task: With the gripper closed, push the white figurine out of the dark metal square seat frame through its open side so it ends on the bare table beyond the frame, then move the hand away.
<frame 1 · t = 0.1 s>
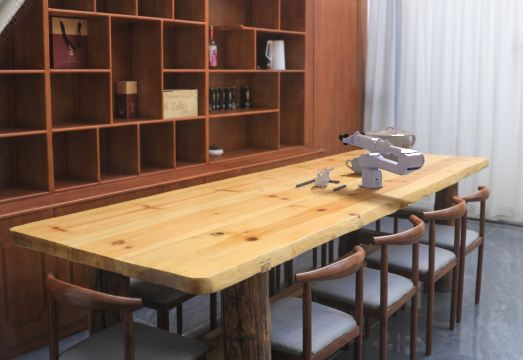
hand: (345, 136, 321), 22 cm above the table, tool horizontal, fingers open, 7 cm apart
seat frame: (324, 185, 311), on the table
teacup: (358, 174, 345), on the table
white figurine: (324, 186, 311), on the table
chamber pot: (389, 161, 387), on the table
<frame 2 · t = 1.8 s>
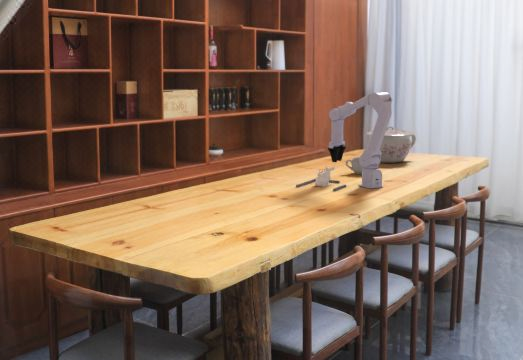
hand: (336, 161, 320), 10 cm above the table, tool pointing down, fingers open, 5 cm apart
white figurine: (325, 185, 312), on the table
everything else where it was.
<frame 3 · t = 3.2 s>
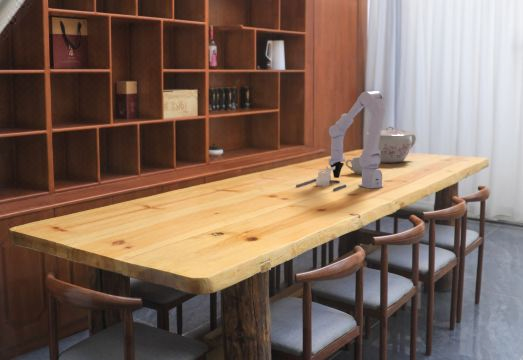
hand: (336, 177, 321), 2 cm above the table, tool pointing down, fingers closed
nothing on the table moved.
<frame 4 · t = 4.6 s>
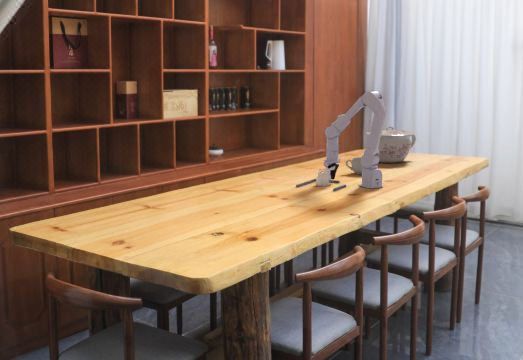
hand: (331, 179, 317), 2 cm above the table, tool pointing down, fingers closed
white figurine: (325, 185, 313), on the table, touching gripper
everything else where it was.
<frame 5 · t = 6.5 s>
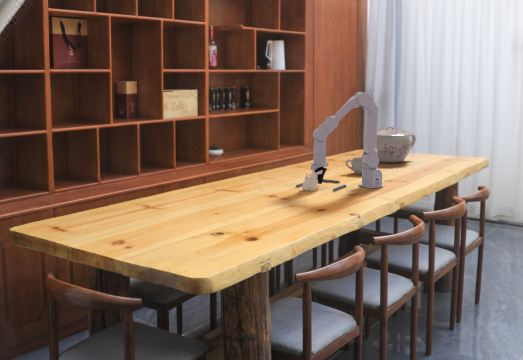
hand: (319, 183, 306), 2 cm above the table, tool pointing down, fingers closed
white figurine: (313, 190, 301), on the table, touching gripper
everything else where it was.
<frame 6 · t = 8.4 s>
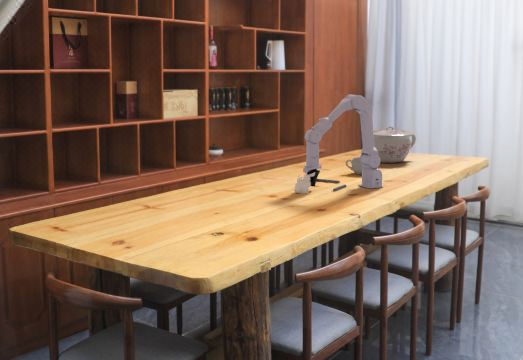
hand: (312, 186, 299), 2 cm above the table, tool pointing down, fingers closed
white figurine: (305, 192, 295), on the table, touching gripper
everything else where it was.
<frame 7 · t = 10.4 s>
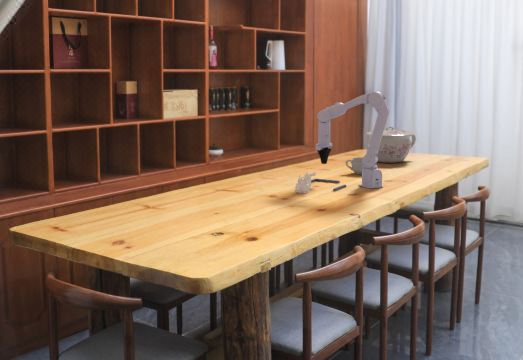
hand: (324, 163, 313), 10 cm above the table, tool pointing down, fingers closed
white figurine: (306, 192, 296), on the table
everything else where it was.
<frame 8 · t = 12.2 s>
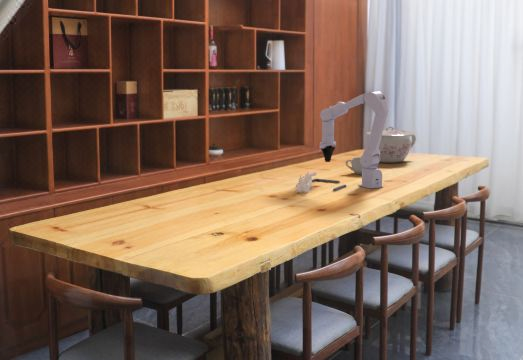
hand: (327, 161, 319), 10 cm above the table, tool pointing down, fingers closed
white figurine: (307, 192, 297), on the table
everything else where it was.
at the end: white figurine inside the target area (3.6 cm from its centre), on the table; white figurine moved 16.8 cm from its start; the gripper is holding nothing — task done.
